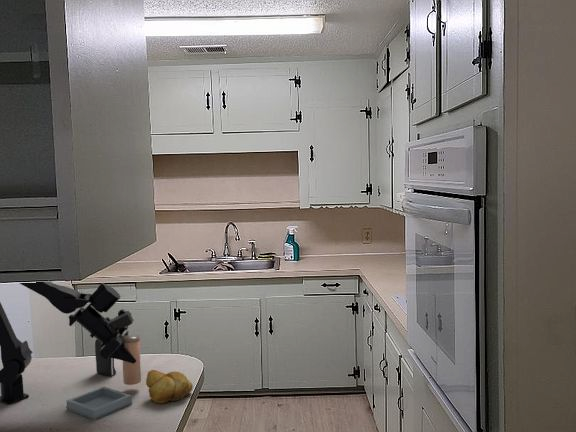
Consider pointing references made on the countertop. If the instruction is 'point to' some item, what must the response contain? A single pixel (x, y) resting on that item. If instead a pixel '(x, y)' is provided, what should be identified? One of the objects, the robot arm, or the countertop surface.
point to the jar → (132, 369)
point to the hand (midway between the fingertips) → (136, 359)
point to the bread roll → (167, 386)
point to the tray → (99, 402)
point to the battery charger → (103, 362)
